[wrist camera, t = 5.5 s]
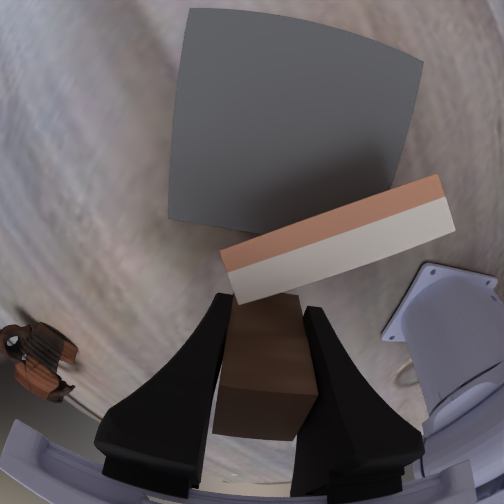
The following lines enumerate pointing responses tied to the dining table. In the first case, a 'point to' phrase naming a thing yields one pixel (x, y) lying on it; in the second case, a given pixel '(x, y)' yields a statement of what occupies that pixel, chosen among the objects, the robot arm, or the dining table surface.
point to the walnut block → (265, 371)
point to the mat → (283, 119)
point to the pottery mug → (38, 359)
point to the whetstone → (338, 240)
